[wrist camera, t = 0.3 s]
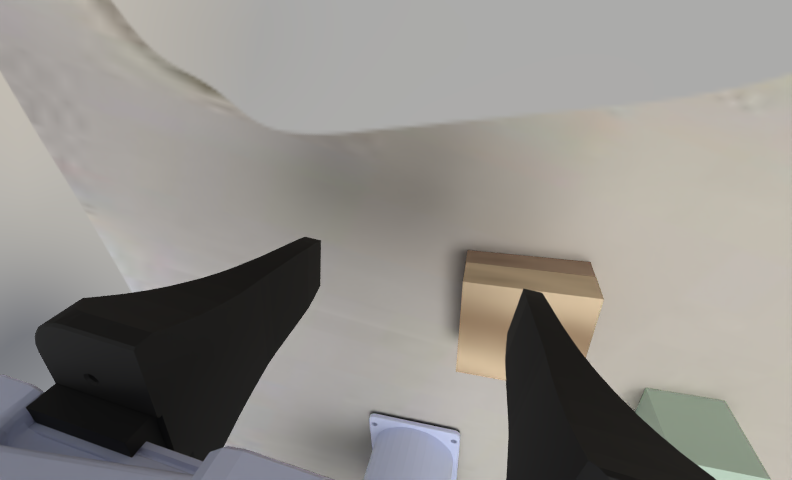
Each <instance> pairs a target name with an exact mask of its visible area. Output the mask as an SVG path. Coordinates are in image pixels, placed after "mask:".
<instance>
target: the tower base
mask: <svg viewBox="0 0 792 480" xmlns="http://www.w3.org/2000/svg"><path fill="white" fill-rule="evenodd" d="M466 262H470V263H478V264H487V265H496V266H505V267H514V268H522V269H531V270H540V271H549V272H557V273H566V274H575V275H584V276H593V277H595V274H594V271H593V268H592V265H591V262H584V261H574V260H564V259H553V258H543V257H533V256H522V255H512V254H502V253H492V252H481V251H471V250H468V251H467V257H466ZM466 262H465V266H466Z"/></svg>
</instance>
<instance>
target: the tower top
mask: <svg viewBox="0 0 792 480" xmlns="http://www.w3.org/2000/svg"><path fill="white" fill-rule="evenodd" d="M523 288H524V289H528V290H532V291H537V292H541V293H543V295H544V296H545V298H546V299H547V301H548V303H549V304H550V306H551V308H552V309H553V311H554V313H555V314H556V316H557V317H558V319H559V321H560V322H561V324H562V325H563V327H564V329H565V330H566V331H567V333H568V334H569V336H570V337H571V339H572V340H573V342H574V343H575V345H576V346H577V347H578V349H579V350H580V351H581V353H582V354H583V355H584V357H585V358H586V355H587V352H588V349H589V346H590V342H591V339H592V336H593V333H594V330H595V326H596V323H597V320H598V317H599V314H600V310H601V307H602V304H603V301H604V298H603V295H602V293H601V290H600V287H599V284H598V281H597V278H596V277H593V276H584V275H575V274H566V273H557V272H549V271H540V270H531V269H522V268H514V267H505V266H496V265H487V264H478V263H470V262H466V266H465V272H464V278H463V286H462V299H461V312H460V325H459V339H458V352H457V365H456V372H461V373H467V374H472V375H478V376H483V377H489V378H494V379H500V380H505V381H506V370H505V354H506V341H507V332H508V330H509V327H510V324H511V321H512V319H513V316H514V313H515V310H516V308H517V305H518V302H519V299H520V296H521V294H522V291H523Z"/></svg>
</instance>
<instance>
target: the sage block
mask: <svg viewBox="0 0 792 480" xmlns="http://www.w3.org/2000/svg"><path fill="white" fill-rule="evenodd" d="M635 413H636V414H637V415H638V416H639V417H641V418H642V419H643V420H644V421H645V422H646V423H647V424H648V425H649V426H650V427H652V428H653V429H654V430H655V431H656V432H657V433H658V434H660V435H661V436H662V437H663V438H664V439H665V440H667V441H668V442H669V443H670V444H671V445H673V446H674V447H675V448H676V449H677V450H679V451H680V452H681V453H682V454H683V455H685V456H686V457H687V458H689V459H690V460H691V461H693V462H694V463H695V464H697V465H698V466H699V467H701V468H702V469H703V470H705V471H706V472H707V473H709V474H710V475H711V476H712V477H714V478H715V479H716V480H771V479H770V477H769V475H768V474H767V472H766V470H765V468H764V467H763V465H762V463H761V462H760V460H759V458H758V456H757V455H756V453H755V451H754V450H753V448H752V446H751V444H750V443H749V441H748V439H747V438H746V436H745V434H744V433H743V431H742V429H741V427H740V426H739V424H738V422H737V421H736V419H735V417H734V415H733V414H732V412H731V410H730V409H729V407H728V405H727V403H726V402H725V401H723V400H717V399H711V398H705V397H699V396H693V395H687V394H680V393H674V392H668V391H662V390H656V389H650V388H645V391H644V393H643V395H642V398H641V400H640V402H639V405H638V407H637V409H636V412H635Z"/></svg>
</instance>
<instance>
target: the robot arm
mask: <svg viewBox="0 0 792 480" xmlns="http://www.w3.org/2000/svg"><path fill="white" fill-rule="evenodd" d="M320 258H321V240H316V239H312V238H308V237H303V238H301V239H298V240H296V241H294V242H292V243H289V244H287V245H285V246H283V247H281V248H279V249H276V250H274V251H272V252H270V253H268V254H265V255H263V256H261V257H259V258H256V259H254V260H251V261H249V262H246V263H244V264H242V265H239V266H237V267H234V268H231V269H229V270H226V271H223V272H220V273H217V274H214V275H211V276H207V277H204V278H201V279H197V280H193V281H189V282H185V283H181V284H177V285H172V286H168V287H163V288H158V289H153V290H147V291H141V292H134V293H127V294H120V295H111V296H101V297H92V298H82V299H81V300H79V301H78V302H76V303H75V304H73V305H71V306H70V307H68V308H67V309H65V310H64V311H62V312H61V313H59V314H58V315H56V316H54V317H53V318H51V319H50V320H48V321H47V322H45V323H44V324H42V325H40V326H39V327H38V329H37V331H36V333H35V342H36V346H37V348H38V351H39V353H40V355H41V357H42V359H43V360H44V362H45V364H46V366H47V368H48V370H49V372H50V373H51V375H52V377H53V379H54V381H55V383H56V384H55V385H53V386H52V387H51V388H50V389H48V390H47V391H46V392H45V393H44V392H43V391H42V390H41V389H39V388H38V387H36V386H34V385H32V384H30V383H27V382H24V381H21V380H18V379H15V378H13V377H10V376H7V375H4V374H0V480H334V479H331V478H328V477H325V476H322V475H319V474H316V473H314V472H311V471H308V470H305V469H302V468H299V467H296V466H293V465H290V464H287V463H284V462H281V461H278V460H276V459H273V458H270V457H267V456H264V455H261V454H258V453H255V452H252V451H249V450H246V449H241V448H235V447H230V446H227V447H224V445H225V443H226V441H227V439H228V437H229V435H230V433H231V431H232V429H233V427H234V425H235V423H236V421H237V419H238V417H239V415H240V413H241V412H242V410H243V408H244V406H245V404H246V402H247V401H248V399H249V397H250V395H251V393H252V391H253V390H254V388H255V386H256V384H257V383H258V381H259V379H260V377H261V376H262V374H263V372H264V370H265V369H266V367H267V365H268V364H269V362H270V361H271V359H272V358H273V356H274V355H275V353H276V352H277V350H278V349H279V348H280V346H281V345H282V344H283V342H284V341H285V340H286V338H287V337H288V335H289V334H290V333H291V331H292V330H293V329H294V327H295V326H296V325H297V323H298V322H299V320H300V319H301V318H302V316H303V315H304V313H305V312H306V311H307V309H308V308H309V306H310V304H311V302H312V301H313V299H314V297H315V295H316V293H317V291H318V289H319V287H320ZM505 370H506V388H507V405H508V423H509V440H508V461H507V479H506V480H716V479H715V478H714V477H712V476H711V475H710V474H709V473H707V472H706V471H705V470H703V469H702V468H701V467H699V466H698V465H697V464H695V463H694V462H693V461H691V460H690V459H689V458H687V457H686V456H685V455H683V454H682V453H681V452H680V451H679V450H677V449H676V448H675V447H674V446H673V445H671V444H670V443H669V442H668V441H667V440H665V439H664V438H663V437H662V436H661V435H660V434H658V433H657V432H656V431H655V430H654V429H653V428H652V427H650V426H649V425H648V424H647V423H646V422H645V421H644V420H643V419H642V418H641V417H639V416H638V415H637V414H636V413H635V412H634V411H633V410H632V409H631V408H630V407H629V406H628V405H627V404H626V403H625V402H624V401H623V400H622V399H621V398H620V397H619V396H618V395H617V394H616V393H615V392H614V391H613V390H612V389H611V387H610V386H609V385H608V384H607V383H606V382H605V381H604V380H603V378H602V377H601V376H600V375H599V374H598V373H597V372H596V370H595V369H594V368H593V367H592V366H591V364H590V363H589V362H588V360H587V359H586V358H585V357H584V355H583V354H582V353H581V351H580V350H579V349H578V347H577V346H576V345H575V343H574V342H573V340H572V339H571V337H570V336H569V334H568V333H567V331H566V330H565V329H564V327H563V325H562V324H561V322H560V321H559V319H558V317H557V316H556V314H555V313H554V311H553V309H552V308H551V306H550V304H549V303H548V301H547V299H546V298H545V296H544V295H543V293H541V292H537V291H532V290H528V289H524V288H523V291H522V294H521V296H520V299H519V302H518V305H517V308H516V310H515V313H514V316H513V319H512V321H511V324H510V327H509V330H508V332H507V341H506V354H505ZM369 423H370V432H371V442H372V454H371V457H370V460H369V463H368V466H367V470H366V473H365V476H364V479H363V480H457V469H458V457H459V445H460V433H459V432H458V431H456V430H451V429H447V428H442V427H437V426H432V425H428V424H423V423H418V422H413V421H409V420H404V419H399V418H394V417H390V416H385V415H380V414H375V413H373V414H371V415H370V417H369Z"/></svg>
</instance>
